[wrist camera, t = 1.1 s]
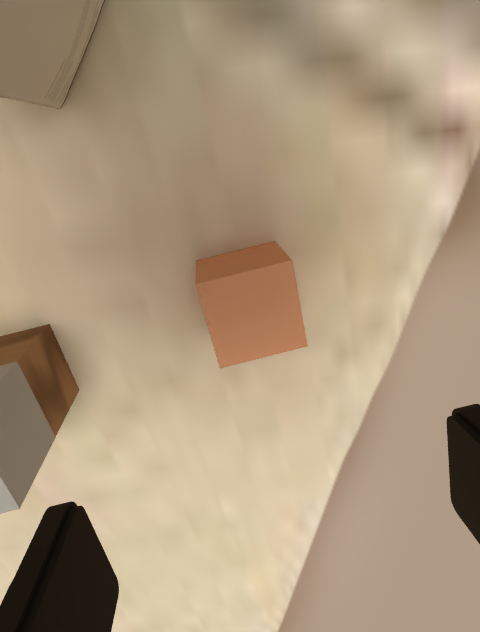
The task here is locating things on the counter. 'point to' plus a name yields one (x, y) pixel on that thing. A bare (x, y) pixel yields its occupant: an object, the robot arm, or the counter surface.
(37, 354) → the walnut block
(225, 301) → the terracotta block
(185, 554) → the counter surface
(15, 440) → the slate block
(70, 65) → the skincare box
